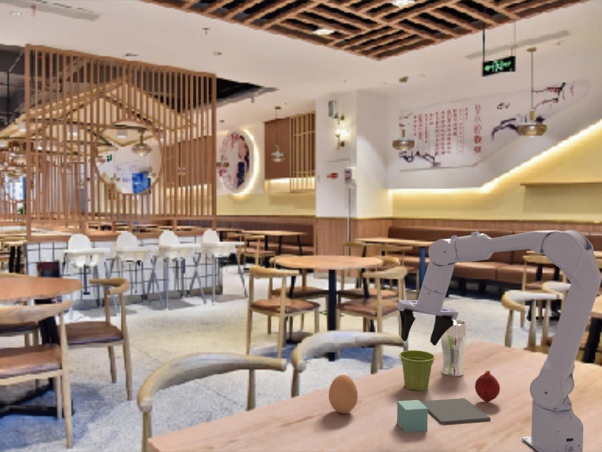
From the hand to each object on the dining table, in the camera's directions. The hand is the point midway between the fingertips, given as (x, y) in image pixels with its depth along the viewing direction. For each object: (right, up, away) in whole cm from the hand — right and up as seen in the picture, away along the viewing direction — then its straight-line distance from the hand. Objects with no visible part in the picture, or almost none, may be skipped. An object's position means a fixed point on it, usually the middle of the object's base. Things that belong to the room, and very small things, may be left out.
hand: (418, 341), depth 124 cm
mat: (+8, -17, 0) cm, 18 cm away
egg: (-18, -17, -1) cm, 25 cm away
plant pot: (+3, -16, +16) cm, 23 cm away
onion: (+18, -17, +6) cm, 25 cm away
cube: (-3, -17, -9) cm, 19 cm away
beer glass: (+16, -15, +28) cm, 35 cm away
